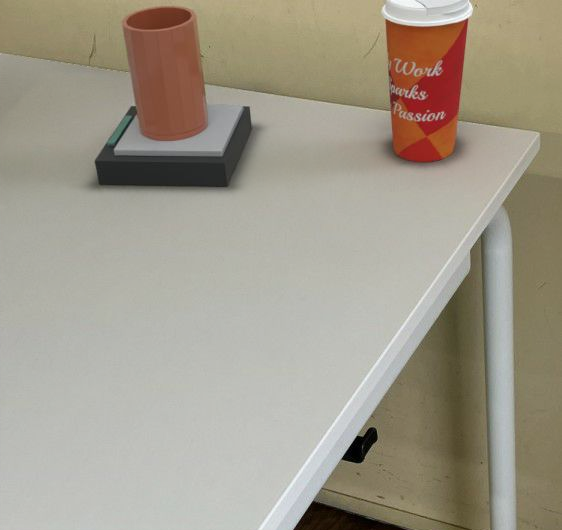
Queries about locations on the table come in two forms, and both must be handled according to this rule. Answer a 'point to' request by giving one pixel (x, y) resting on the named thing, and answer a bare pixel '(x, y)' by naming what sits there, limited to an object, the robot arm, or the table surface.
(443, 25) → the paper cup
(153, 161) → the scale
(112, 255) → the table surface
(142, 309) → the table surface
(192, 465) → the table surface
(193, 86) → the cup
